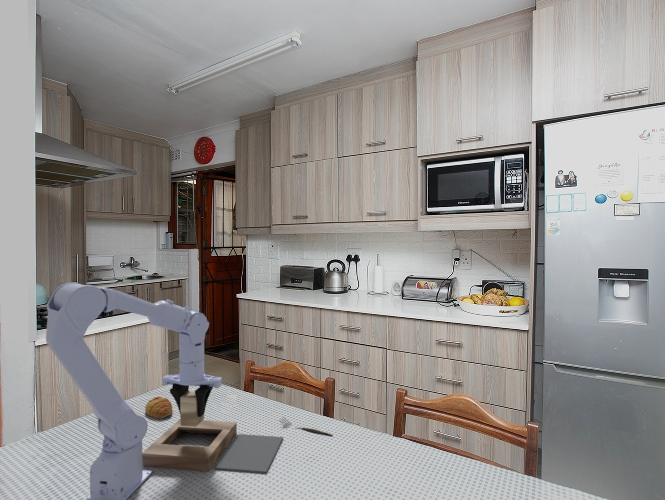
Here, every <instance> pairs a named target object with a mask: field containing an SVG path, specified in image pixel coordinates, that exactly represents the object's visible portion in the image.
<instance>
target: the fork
mask: <svg viewBox="0 0 665 500" xmlns="http://www.w3.org/2000/svg"><path fill="white" fill-rule="evenodd" d="M278 420H279V422H280V423H281V425H283V426H284V427H285V428H286V429H289V428H290V427H291V426H293V423H292V422H290V421H289V420H288V419H287V418H286V417H284V416H282V417H281V418H280V419H278ZM294 429H299V430H303V431H306V432H309V433H312V434H316V435H317V434H319V435H324V436H328V437H333V436H334V435H333V434H331V433H328V432H324V431H322V430H321V431H320V430H318V429H314V428H309V427H307V428H306V427H301V426H296V427H294Z"/></svg>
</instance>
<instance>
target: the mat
mask: <svg viewBox="0 0 665 500" xmlns="http://www.w3.org/2000/svg"><path fill="white" fill-rule="evenodd" d="M283 440H284V437H283V436H273V435H272V436H271V435H258V434H257V435H255V434H240V433H239V434H238V435H236V437H235V439H234V440H233V442H232V443H231V444H230V445H229V447H228V448H227V450H226V451H224V454H223V455H222V457H221V458H220V460H218V462H217V464H216V465H215V466H214V470H221V471H233V472H234V471H236V472H243V473H244V472H247V473H256V474H257V473H260V474H267V472H268V471H269V468H270V467H271V465H272V462H273V460H274V459H275V456H276V454H277V452H278V450H279V448H280V446H281V444H282V442H283Z"/></svg>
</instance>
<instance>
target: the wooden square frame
mask: <svg viewBox="0 0 665 500" xmlns="http://www.w3.org/2000/svg"><path fill="white" fill-rule="evenodd" d="M237 427H238V426H237V421H222V420H208V419H207V420H205V419H203V420H202V421H201V422H200V423H199V424H198V425H197V427H191V426H181V418H179V419H178V420H177V421H175V423H174V424H173V425H171V426H170V427H169V428H168V429H167V430H166V431H165V432H164V433H162V435H161V436H159V437H158V438H157V439H156V440H155V441H154V442H153V443H151V444H150V445H149V446H148V447H147V448H146V449H145V450H144V451H142V463H143V467H147V468H149V467H150V468H159V469H170V470H171V469H175V470H184V471H196V472H209V471H210V470H211V469H212V467H213V466H214V464H215V463H216V462H217V461H218V460H219V458H220V457H221V456H222V454H223V453H224V452H225V450H226V449H227V447H228V446H229V444H230V443H231V442H232V440H233V439H234V438H235V436H237V430H238V428H237ZM182 433H195V434H211V435H217V436H216V437H215V438H214V440H213V441H212V443H210V445H208V446H206V447H205V446H193V445H181V444H179V445H178V444H171V443H172V442H173V441H174V440H175V439H176V438H177V437H178V436H179V435H180V434H182Z"/></svg>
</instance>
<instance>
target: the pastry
mask: <svg viewBox="0 0 665 500" xmlns="http://www.w3.org/2000/svg"><path fill="white" fill-rule="evenodd" d="M144 408H145V414H147V416H149V417H151V418H155V419H160V420H162V419H165V418H166V417H169V416H171V414H172V413H173V405H172V402H171V401H170V400H169V399H168V398H167V397H163V396H154V397H153V398H152V399H150V400H149V401H148V402H147V403H146V404H145V407H144Z"/></svg>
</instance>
